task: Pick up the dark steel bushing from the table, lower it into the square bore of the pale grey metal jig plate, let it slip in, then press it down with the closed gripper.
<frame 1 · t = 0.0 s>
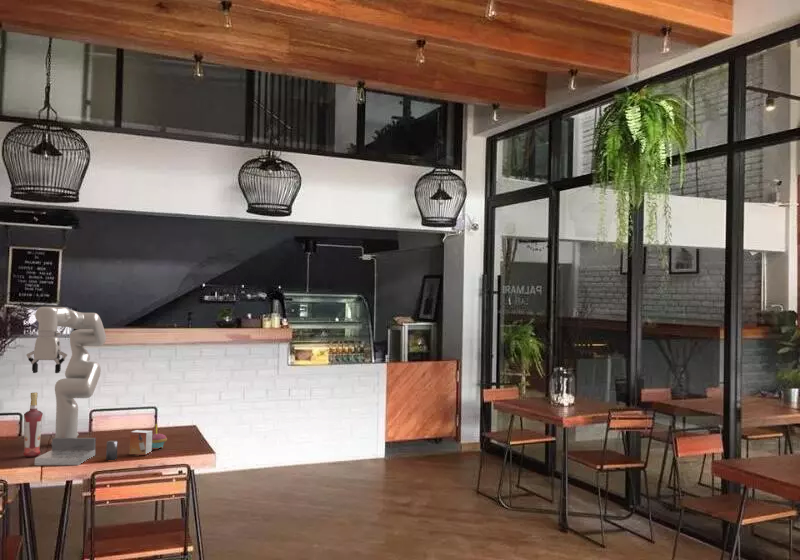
hand: (46, 372, 302), 37 cm above the table, tool pointing down, fingers open, 9 cm apart
jig: (65, 460, 291), on the table
liquor: (31, 456, 298), on the table
small box: (140, 454, 305), on the table
bushing: (111, 459, 293), on the table
cupcake: (157, 449, 317), on the table
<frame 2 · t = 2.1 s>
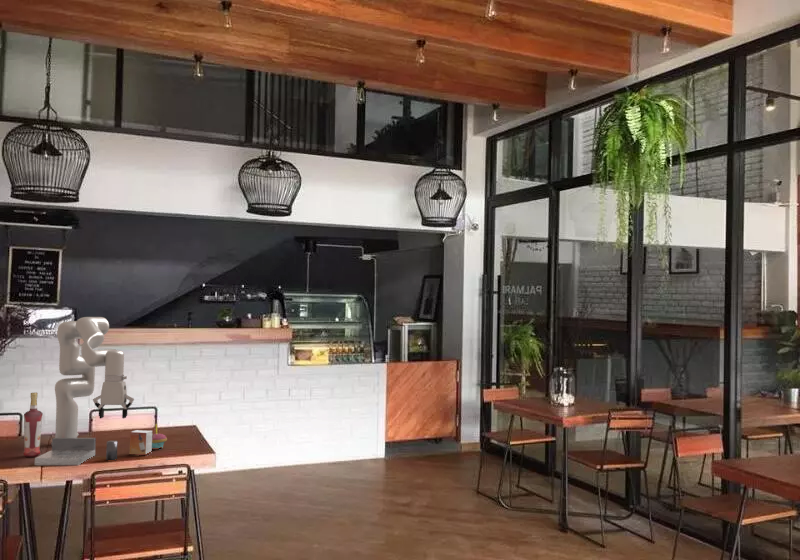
hand: (112, 417, 294), 18 cm above the table, tool pointing down, fingers open, 9 cm apart
nothing on the table moved.
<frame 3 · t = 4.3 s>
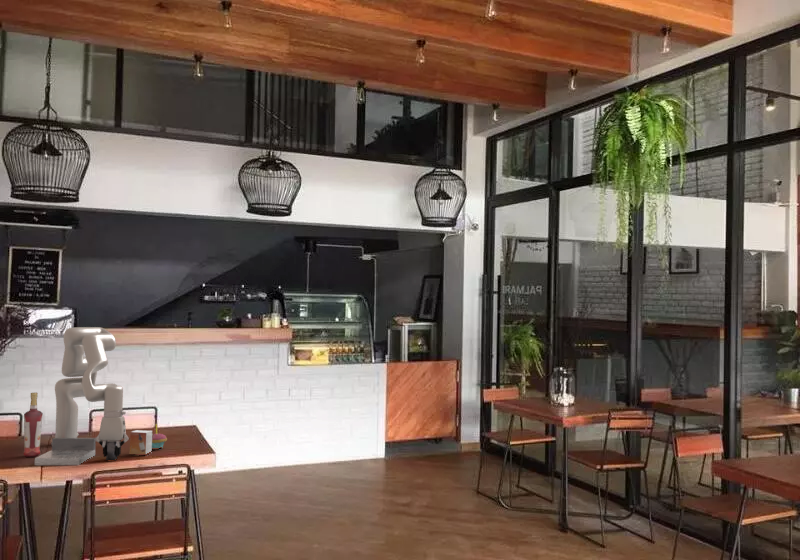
hand: (111, 455, 293), 2 cm above the table, tool pointing down, fingers closed on bushing, 4 cm apart
bushing: (111, 459, 293), on the table, touching gripper
everything else where it was.
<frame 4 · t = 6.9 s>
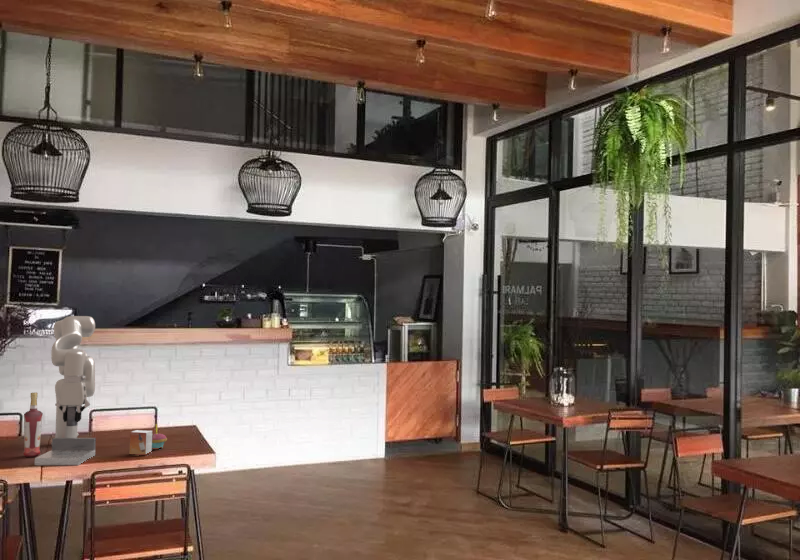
hand: (72, 420, 292), 17 cm above the table, tool pointing down, fingers closed on bushing, 4 cm apart
bushing: (71, 425, 292), point 15 cm above the table, touching gripper
everything else where it was.
when the fingers open (4 cm above the table, at t = 9.9 s): bushing drops 2 cm, resting in jig.
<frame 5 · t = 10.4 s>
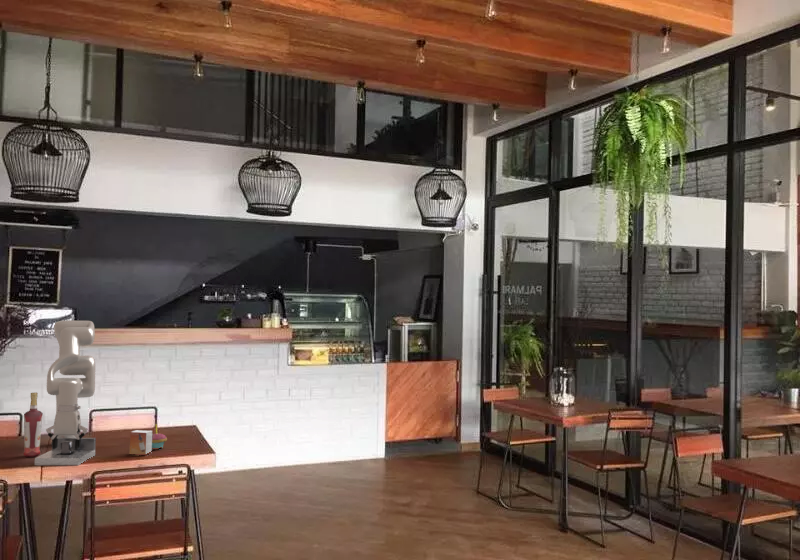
hand: (66, 448, 291), 5 cm above the table, tool pointing down, fingers open, 9 cm apart
bushing: (65, 460, 291), resting in jig
everything else where it was.
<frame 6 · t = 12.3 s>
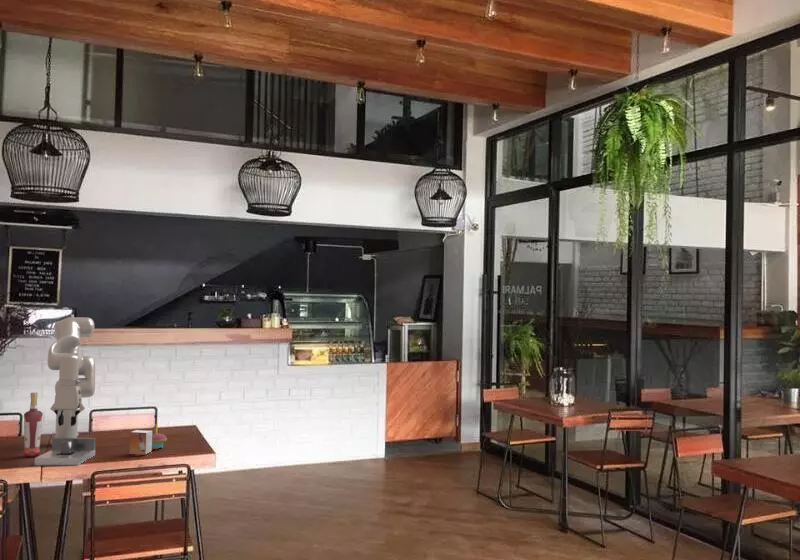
hand: (67, 424, 292), 15 cm above the table, tool pointing down, fingers open, 4 cm apart
nothing on the table moved.
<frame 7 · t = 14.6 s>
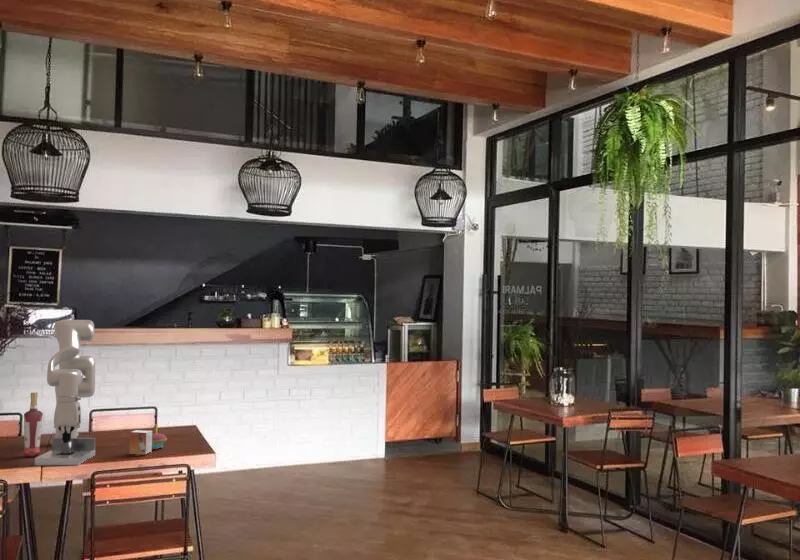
hand: (66, 441, 291), 8 cm above the table, tool pointing down, fingers closed
bushing: (65, 460, 291), resting in jig, touching gripper
everything else where it was.
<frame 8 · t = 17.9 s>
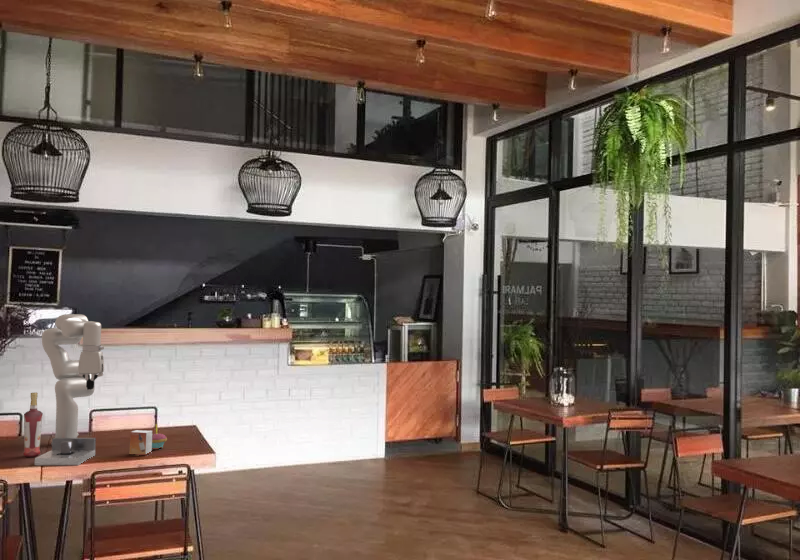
hand: (90, 389, 306), 29 cm above the table, tool pointing down, fingers closed
bushing: (65, 460, 291), resting in jig
everything else where it was.
at the end: bushing 0.0 cm off-centre on the jig, point 0.0 cm above the jig's base; bushing tilted 0°; the gripper is holding nothing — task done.
